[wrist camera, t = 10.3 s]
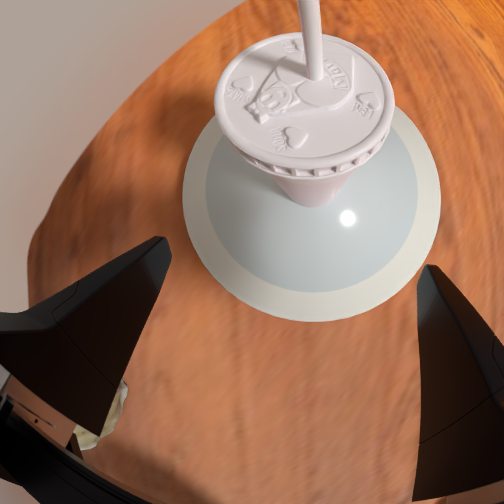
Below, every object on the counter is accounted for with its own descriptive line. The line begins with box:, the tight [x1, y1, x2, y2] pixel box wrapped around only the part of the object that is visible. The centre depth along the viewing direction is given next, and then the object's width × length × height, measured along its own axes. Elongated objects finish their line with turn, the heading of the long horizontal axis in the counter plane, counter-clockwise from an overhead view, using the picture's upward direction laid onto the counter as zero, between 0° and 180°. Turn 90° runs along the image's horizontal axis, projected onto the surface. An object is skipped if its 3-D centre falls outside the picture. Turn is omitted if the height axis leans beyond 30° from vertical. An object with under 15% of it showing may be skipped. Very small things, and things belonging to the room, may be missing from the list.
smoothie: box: [214, 0, 395, 208], centre depth 11 cm, size 6×6×14 cm
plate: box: [182, 105, 441, 322], centre depth 18 cm, size 18×18×1 cm
